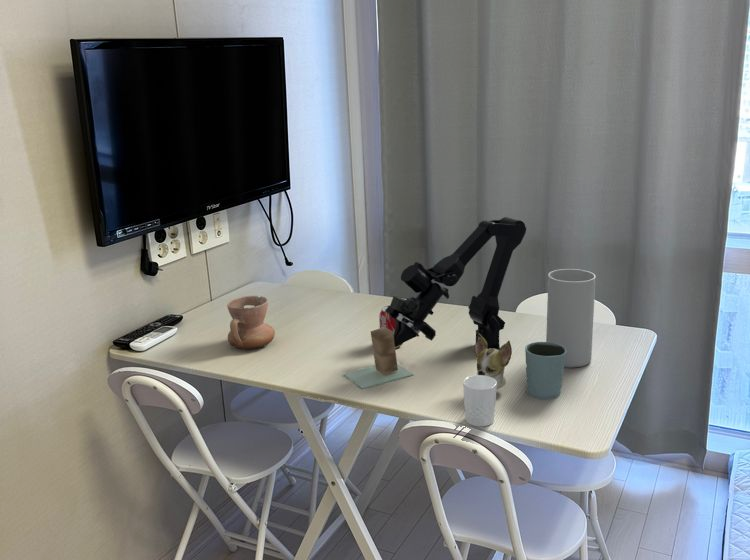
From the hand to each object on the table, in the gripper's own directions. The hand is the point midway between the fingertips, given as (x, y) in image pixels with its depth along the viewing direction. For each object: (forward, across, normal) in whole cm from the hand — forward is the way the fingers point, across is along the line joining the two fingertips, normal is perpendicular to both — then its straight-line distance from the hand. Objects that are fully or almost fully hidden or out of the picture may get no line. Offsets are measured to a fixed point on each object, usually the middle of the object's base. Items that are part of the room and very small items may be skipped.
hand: (391, 346), depth 204 cm
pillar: (+6, 0, +4) cm, 7 cm away
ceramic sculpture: (-5, +26, +15) cm, 30 cm away
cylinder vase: (-27, +21, +37) cm, 51 cm away
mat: (+8, 0, +2) cm, 9 cm away
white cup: (+3, +36, +8) cm, 37 cm away
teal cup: (-13, +33, +24) cm, 43 cm away
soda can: (-1, -17, +12) cm, 21 cm away
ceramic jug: (+24, -42, -13) cm, 50 cm away
